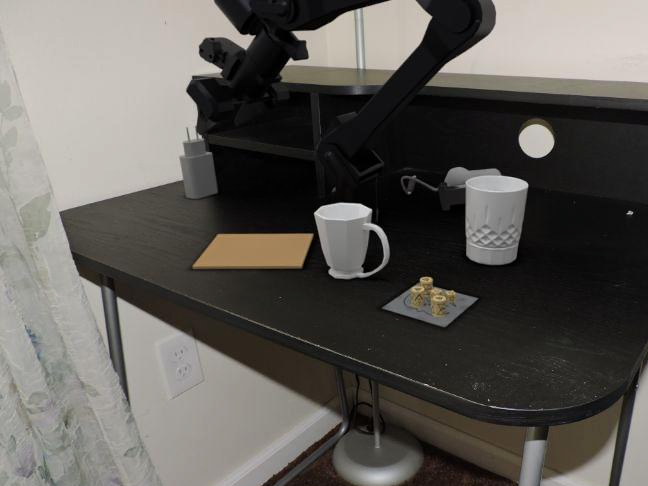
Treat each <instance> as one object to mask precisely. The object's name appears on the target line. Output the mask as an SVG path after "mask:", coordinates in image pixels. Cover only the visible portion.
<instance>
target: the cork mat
mask: <svg viewBox="0 0 648 486" xmlns="http://www.w3.org/2000/svg"><path fill="white" fill-rule="evenodd" d="M313 239H314V233H218V234H216V236H215V237H214V238H213V240H212V241H211V243H210V244H209V245H208V246H207V248H206V249H205V250H204V251H203V252H202V254H201V255H200V257H199V258H197V260H196V261H195V262H194V264H193V265H192V269H193V270H259V269H260V270H272V269H273V270H279V269H280V270H281V269H283V270H284V269H287V270H288V269H289V270H290V269H291V270H293V269H295V270H296V269H297V270H298V269H300V270H301V269H303V267H304V264H305V261H306V258H307V255H308V252H309V250H310V247H311V244H312V242H313Z"/></svg>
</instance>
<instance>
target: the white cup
mask: <svg viewBox="0 0 648 486" xmlns="http://www.w3.org/2000/svg"><path fill="white" fill-rule="evenodd" d="M528 190H529V184H528V182H527V181H525V180H523V179H520V178H517V177H512V176H507V175H506V176H505V175H501V176H479V177H474V178H471V179H469V180H467V181H466V203H465V217H464V219H465V220H464V221H465V237H466V247H465V248H466V249H465V251H466V254H465V255H466V257H467V258H468V259H469V260H470V261H472V262H475V263H477V264H481V265H488V266H502V265H508V264H511V263H513V262H514V261H515V260H517V255H518V250H519V249H518V248H519V242H520V239H521V236H522V235H521V234H522V229H523V223H524V218H525V211H526V204H527V198H528Z"/></svg>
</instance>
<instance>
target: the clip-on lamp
mask: <svg viewBox="0 0 648 486" xmlns="http://www.w3.org/2000/svg"><path fill="white" fill-rule="evenodd" d="M479 176H502V174H501V172H500V170H498V169H497V168H487V169H486V168H485V169H474V170H468V169H466V168H465V167H462V166H457V167H453V168H450V169H449V171H448V172H447V174H446V176H445V179H444V182H439V185H438V186H437V188H435V187H433V186H431V185H429V184H427V183H426V182H423V181H421V180H420V179H417V176H416V175H413V176H408V175H404V176H402V177H401V179H400V184H401V187H402V190H403V191H404V193H405V194H406V195H411V194H413V193H414V190H415V186H416V183H418V184H419V185H422V186H424V187H426V188H427V189H429V190H431V191H434V192H438V196H439V201H440V205H441V209H442V211H443V212H446V211H450V210H451V206H454V205H463V204H466V181H467V180H469V179H471V178H474V177H479ZM404 179H408V180H409V181H408V185H407V188H406V186H405V184H404Z"/></svg>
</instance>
